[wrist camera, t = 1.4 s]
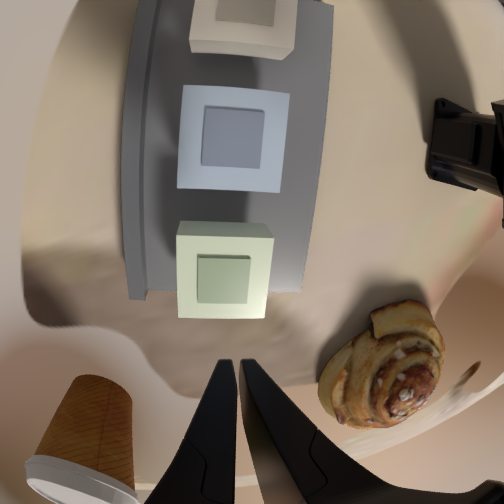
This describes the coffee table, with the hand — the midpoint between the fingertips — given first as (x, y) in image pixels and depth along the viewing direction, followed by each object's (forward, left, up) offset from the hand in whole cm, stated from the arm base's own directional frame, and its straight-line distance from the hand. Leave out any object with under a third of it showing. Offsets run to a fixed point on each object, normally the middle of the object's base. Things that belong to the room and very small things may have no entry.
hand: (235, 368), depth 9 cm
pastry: (-16, +13, -12) cm, 23 cm away
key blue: (0, -7, -8) cm, 10 cm away
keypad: (0, -6, -11) cm, 13 cm away
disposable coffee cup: (+11, +16, -11) cm, 22 cm away
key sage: (0, 0, -8) cm, 8 cm away
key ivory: (0, -13, -8) cm, 15 cm away
